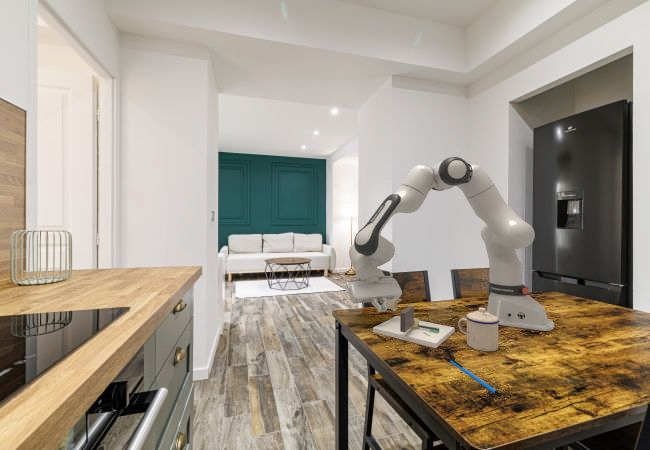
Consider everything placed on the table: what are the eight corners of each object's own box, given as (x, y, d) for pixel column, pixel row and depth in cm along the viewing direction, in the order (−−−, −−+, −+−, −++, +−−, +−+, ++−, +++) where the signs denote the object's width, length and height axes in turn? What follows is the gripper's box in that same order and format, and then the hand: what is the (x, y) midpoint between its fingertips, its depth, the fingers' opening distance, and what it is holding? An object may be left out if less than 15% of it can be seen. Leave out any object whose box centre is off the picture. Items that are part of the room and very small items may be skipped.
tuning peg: (410, 324, 110) (410, 303, 110) (440, 329, 104) (440, 307, 104) (397, 335, 98) (397, 312, 98) (430, 342, 93) (430, 317, 93)
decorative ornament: (387, 306, 140) (387, 295, 140) (403, 310, 134) (403, 298, 134) (382, 308, 137) (382, 296, 137) (397, 312, 131) (397, 299, 131)
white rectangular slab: (454, 331, 107) (454, 327, 107) (435, 348, 93) (435, 343, 93) (396, 319, 121) (396, 315, 121) (372, 332, 107) (372, 327, 107)
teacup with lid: (504, 346, 94) (504, 308, 94) (491, 355, 88) (491, 314, 88) (465, 335, 103) (465, 301, 103) (451, 342, 98) (451, 306, 98)
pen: (449, 360, 86) (449, 356, 86) (503, 398, 67) (503, 393, 67) (446, 360, 85) (446, 356, 85) (500, 399, 67) (500, 393, 67)
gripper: (347, 275, 112) (359, 308, 103) (395, 271, 119) (410, 303, 110) (342, 285, 116) (353, 318, 107) (389, 281, 124) (403, 312, 114)
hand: (382, 310), depth 109 cm, fingers closed
